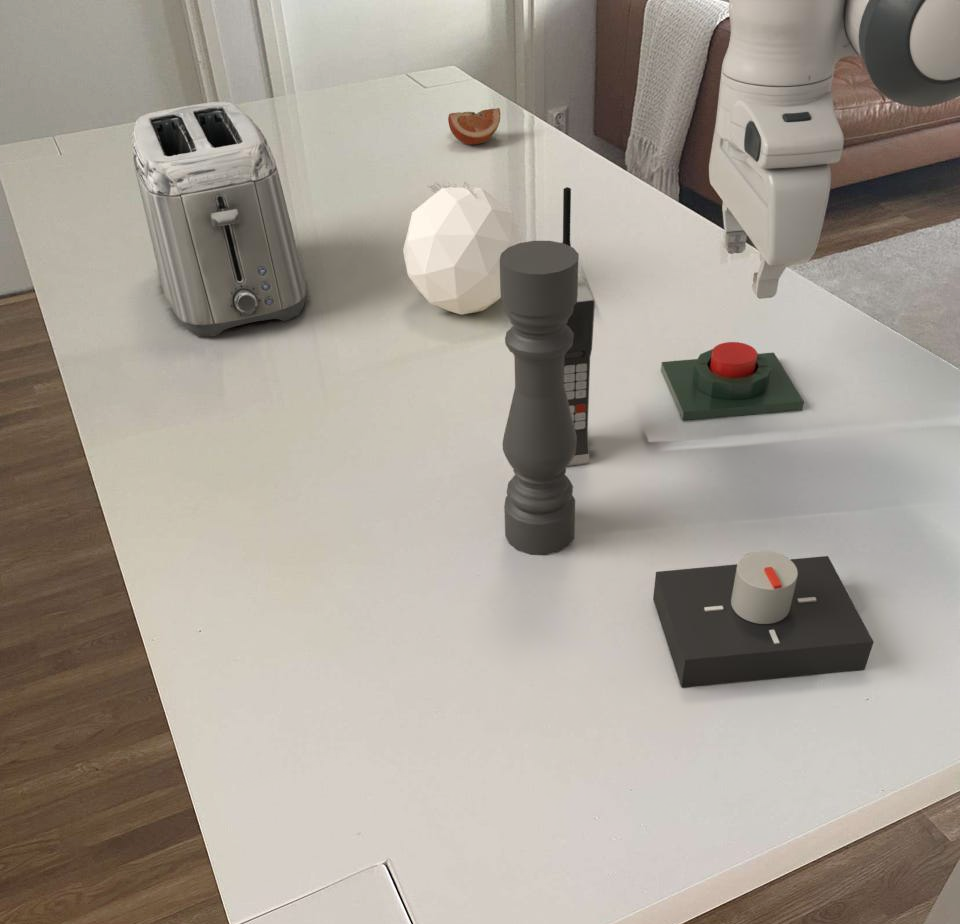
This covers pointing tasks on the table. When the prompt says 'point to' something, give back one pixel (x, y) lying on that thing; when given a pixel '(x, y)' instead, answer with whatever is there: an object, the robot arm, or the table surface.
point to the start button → (733, 360)
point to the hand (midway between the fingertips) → (747, 271)
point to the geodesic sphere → (459, 247)
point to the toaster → (217, 217)
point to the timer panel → (759, 627)
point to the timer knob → (764, 587)
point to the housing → (729, 389)
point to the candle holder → (539, 394)
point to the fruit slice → (474, 125)
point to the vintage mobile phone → (578, 352)
